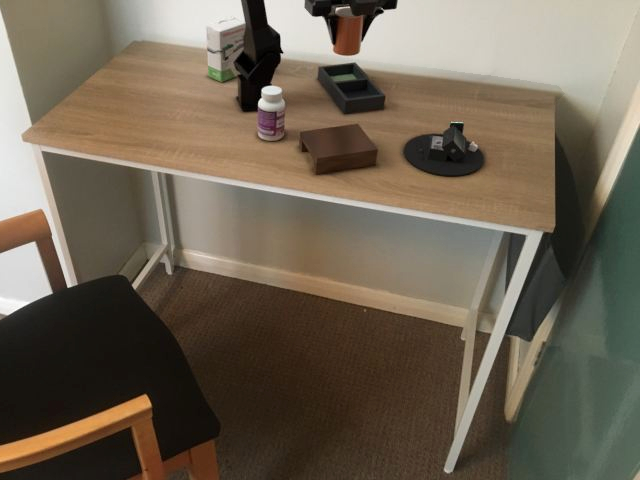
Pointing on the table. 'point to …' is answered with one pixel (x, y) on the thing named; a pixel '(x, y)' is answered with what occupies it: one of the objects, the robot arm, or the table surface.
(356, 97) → the tray
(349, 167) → the brown wooden riser
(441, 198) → the table surface
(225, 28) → the ink box
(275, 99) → the pill bottle
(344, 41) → the cup
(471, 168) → the black round base
